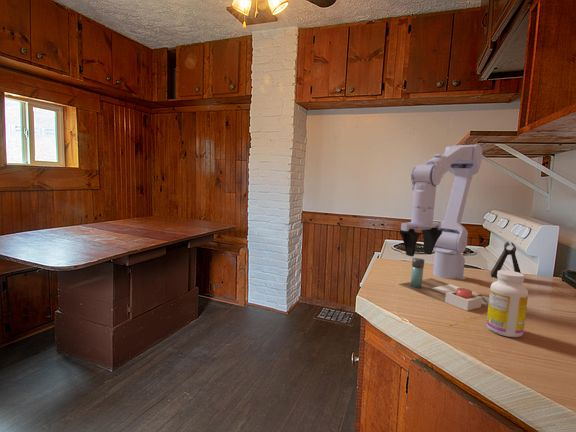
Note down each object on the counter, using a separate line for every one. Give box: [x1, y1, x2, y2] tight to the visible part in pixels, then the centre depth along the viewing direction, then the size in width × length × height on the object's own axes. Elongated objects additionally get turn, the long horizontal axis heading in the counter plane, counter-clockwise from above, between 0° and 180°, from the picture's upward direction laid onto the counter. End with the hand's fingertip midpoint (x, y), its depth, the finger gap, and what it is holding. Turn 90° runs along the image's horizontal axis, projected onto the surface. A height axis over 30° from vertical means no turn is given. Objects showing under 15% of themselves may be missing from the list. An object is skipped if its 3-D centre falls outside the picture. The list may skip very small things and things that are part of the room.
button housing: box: [444, 290, 482, 312], centre depth 81 cm, size 6×6×2 cm
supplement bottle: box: [486, 269, 529, 338], centre depth 68 cm, size 7×7×13 cm
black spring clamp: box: [490, 241, 522, 279], centre depth 110 cm, size 9×6×12 cm, turn 58°
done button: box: [456, 287, 473, 299], centre depth 80 cm, size 3×3×2 cm
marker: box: [410, 257, 425, 288], centre depth 93 cm, size 3×3×8 cm
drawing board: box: [397, 277, 489, 312], centre depth 89 cm, size 15×21×1 cm
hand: (418, 254), depth 92 cm, fingers open, 7 cm apart
